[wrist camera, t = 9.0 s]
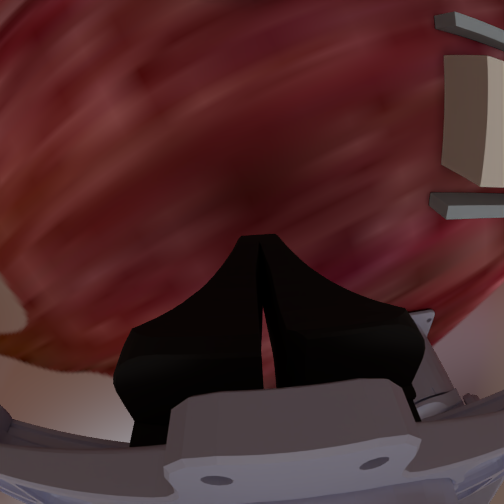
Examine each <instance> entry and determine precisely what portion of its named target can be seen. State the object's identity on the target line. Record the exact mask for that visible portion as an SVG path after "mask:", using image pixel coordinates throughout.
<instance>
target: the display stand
mask: <svg viewBox="0 0 504 504" xmlns="http://www.w3.org/2000/svg"><path fill="white" fill-rule="evenodd" d="M434 19H435V29H438V30H442V31H445V32H449V33H452V34H456V35H459V36H462V37H466V38H469V39H472V40H475V41H478V42H481V43H483V44H486V45H489V46H492V47H494V48H497V49H500V50H502V51H504V31H503V30H501V29H499V28H497V27H494V26H492V25H489V24H487V23H484V22H482V21H479V20H477V19H474V18H471V17H469V16H466V15H463V14H460V13H457V12H451V13H446V14H441V15H436V16H434ZM429 206H430V207H431V208H433V209H434V210H435V211H436V212H438V213H439V214H440V215H441V216H442V217H444V218H445V219H470V218H500V217H504V194H495V193H430V200H429Z"/></svg>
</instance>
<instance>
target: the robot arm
mask: <svg viewBox="0 0 504 504" xmlns="http://www.w3.org/2000/svg"><path fill="white" fill-rule="evenodd" d="M263 308H264V313H265V318H266V323H267V328H268V332H269V337H270V342H271V347H272V352H273V358H274V366H275V377H276V388H273V389H263V372H262V356H261V340H262V313H263ZM434 315H435V313H434V311H433V310H425V311H419V312H413V313H408V312H407V310H406V309H405V308H402V307H398V306H394V305H390V304H386V303H382V302H378V301H375V300H372V299H369V298H367V297H364V296H361V295H359V294H356V293H354V292H351V291H349V290H347V289H345V288H343V287H341V286H339V285H337V284H335V283H333V282H331V281H330V280H328V279H326V278H325V277H323V276H322V275H320V274H319V273H317V272H316V271H314V270H313V269H311V268H310V267H309V266H308V265H306V264H305V263H304V262H303V261H302V260H300V259H299V258H298V257H297V256H296V255H295V254H294V253H293V252H292V251H291V250H290V249H289V248H288V247H287V246H286V245H285V243H284V242H283V241H282V240H281V239H280V238H279V237H278V236H277V235H276V234H264V235H249V236H241V237H240V238H239V239H238V241H237V243H236V245H235V247H234V249H233V250H232V252H231V254H230V255H229V256H228V258H227V259H226V261H225V262H224V264H223V265H222V266H221V268H220V269H219V270H218V271H217V272H216V274H215V275H214V276H213V277H212V278H211V279H210V280H209V282H208V283H207V284H206V285H204V286H203V287H202V288H201V289H200V290H199V291H198V292H196V293H195V294H194V295H192V296H191V297H190V298H188V299H187V300H186V301H184V302H183V303H182V304H180V305H178V306H177V307H175V308H174V309H172V310H170V311H168V312H167V313H165V314H163V315H161V316H159V317H157V318H155V319H153V320H151V321H149V322H146V323H144V324H142V325H140V326H137V327H135V328H132V330H131V332H130V334H129V336H128V338H127V340H126V342H125V344H124V346H123V349H122V351H121V354H120V357H119V360H118V363H117V366H116V369H115V372H114V376H113V384H114V387H115V389H116V392H117V394H118V395H119V397H120V399H121V400H122V402H123V404H124V405H125V407H126V409H127V410H128V412H129V413H130V415H131V416H132V418H133V420H134V421H135V422H134V426H133V431H132V435H131V440H130V443H126V442H118V441H111V440H103V439H98V438H92V437H86V436H81V435H75V434H70V433H66V432H61V431H57V430H52V429H47V428H44V427H40V426H36V425H32V424H29V423H25V422H21V421H18V420H14V419H12V417H11V416H10V414H9V413H8V412H7V411H6V410H5V409H4V408H3V407H2V406H1V405H0V491H1V492H3V493H5V494H7V495H9V496H11V497H13V498H15V499H17V500H19V501H22V502H24V503H26V504H489V503H490V501H491V500H492V498H493V496H494V495H495V494H496V492H497V490H498V489H499V487H500V485H501V484H502V482H503V480H504V390H502V391H500V392H497V393H495V394H493V395H490V396H488V397H485V398H483V399H479V398H478V396H477V395H470V394H469V393H467V394H466V395H464V396H463V399H464V402H465V404H466V405H464V404H463V402H462V400H461V398H460V396H459V394H458V392H457V390H456V388H454V387H453V385H452V383H451V381H450V379H449V377H448V375H447V373H446V371H445V369H444V368H443V366H442V364H441V362H440V360H439V358H438V357H437V355H436V353H435V351H434V349H433V348H432V346H431V344H430V342H429V340H428V339H427V335H428V332H429V330H430V327H431V324H432V321H433V318H434Z"/></svg>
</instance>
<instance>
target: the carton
mask: <svg viewBox="0 0 504 504" xmlns="http://www.w3.org/2000/svg"><path fill="white" fill-rule="evenodd" d="M444 79H445V104H444V132H443V148H442V160H441V165H443V166H445V167H447V168H448V169H450V170H452V171H454V172H456V173H457V174H459V175H461V176H463V177H465V178H466V179H468V180H470V181H471V182H473V183H475V184H476V185H478V186H480V187H504V61H501V60H498V59H496V58H493V57H490V56H483V55H444Z"/></svg>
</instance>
